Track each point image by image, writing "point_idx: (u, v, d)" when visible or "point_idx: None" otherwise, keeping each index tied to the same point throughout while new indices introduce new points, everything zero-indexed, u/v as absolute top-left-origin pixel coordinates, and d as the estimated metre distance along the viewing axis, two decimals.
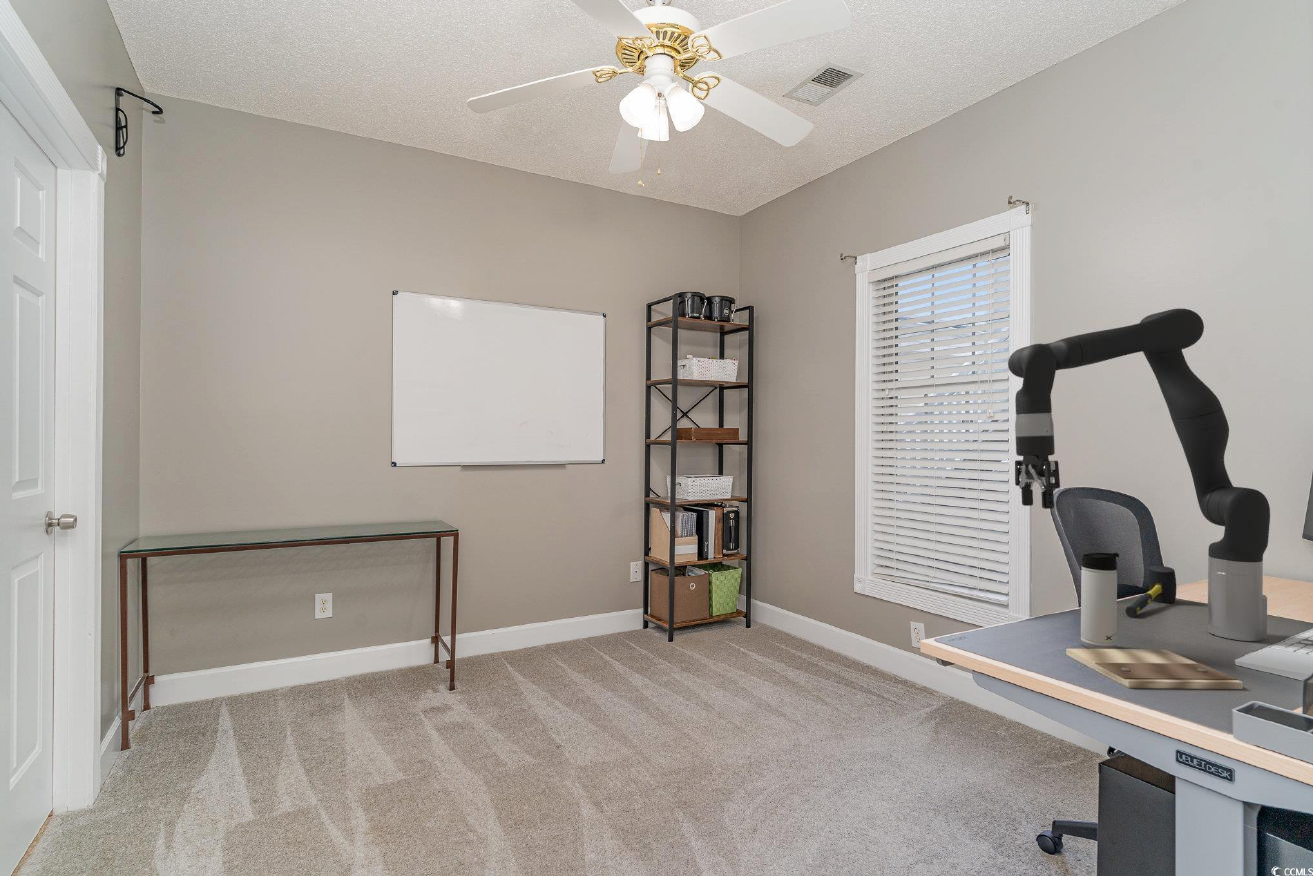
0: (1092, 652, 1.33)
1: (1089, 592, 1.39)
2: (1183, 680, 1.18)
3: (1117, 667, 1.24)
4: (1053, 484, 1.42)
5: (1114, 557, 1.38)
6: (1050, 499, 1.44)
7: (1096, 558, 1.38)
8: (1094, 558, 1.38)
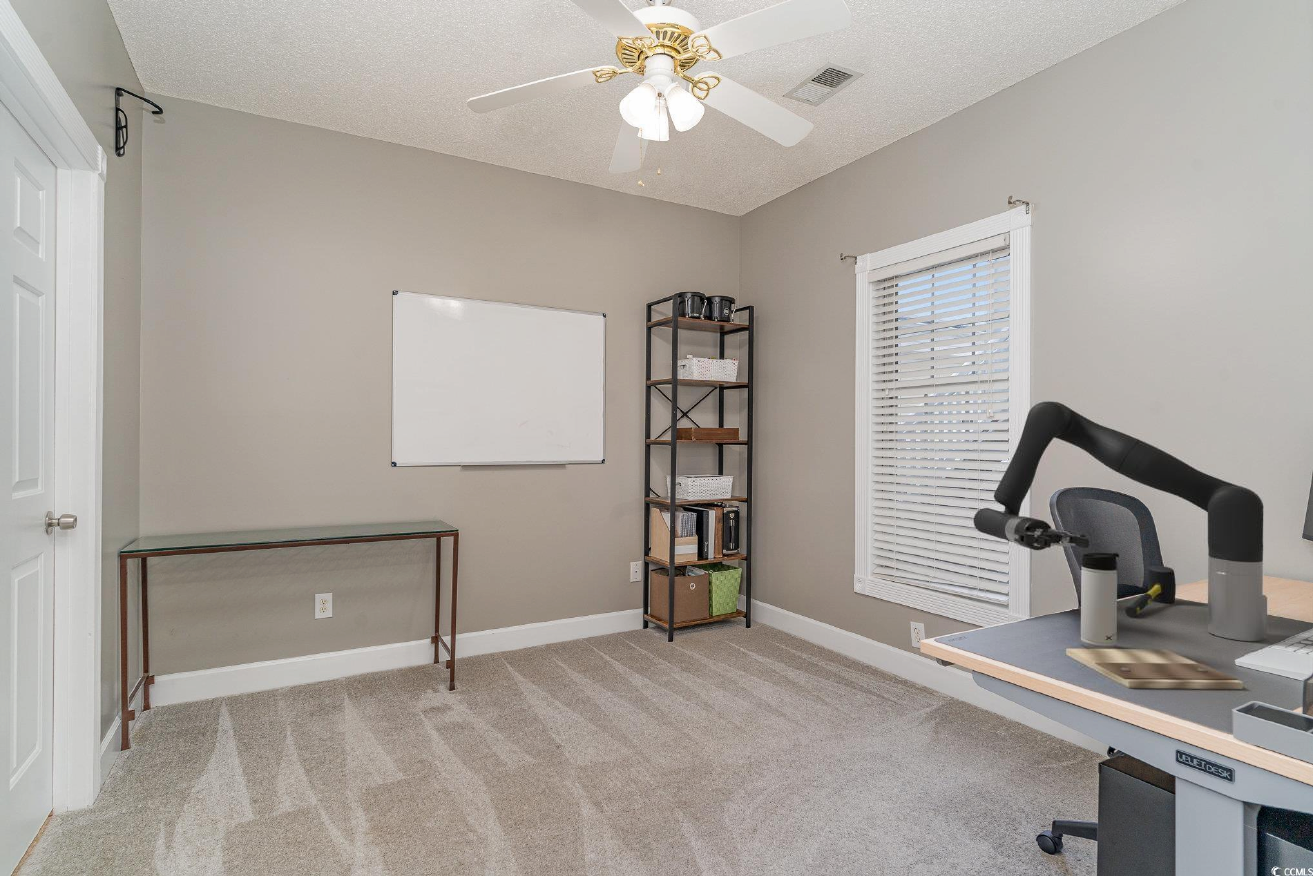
0: (1092, 652, 1.33)
1: (1089, 592, 1.39)
2: (1183, 680, 1.18)
3: (1117, 667, 1.24)
4: (1024, 539, 1.57)
5: (1114, 557, 1.38)
6: (1039, 541, 1.53)
7: (1096, 558, 1.38)
8: (1094, 558, 1.38)
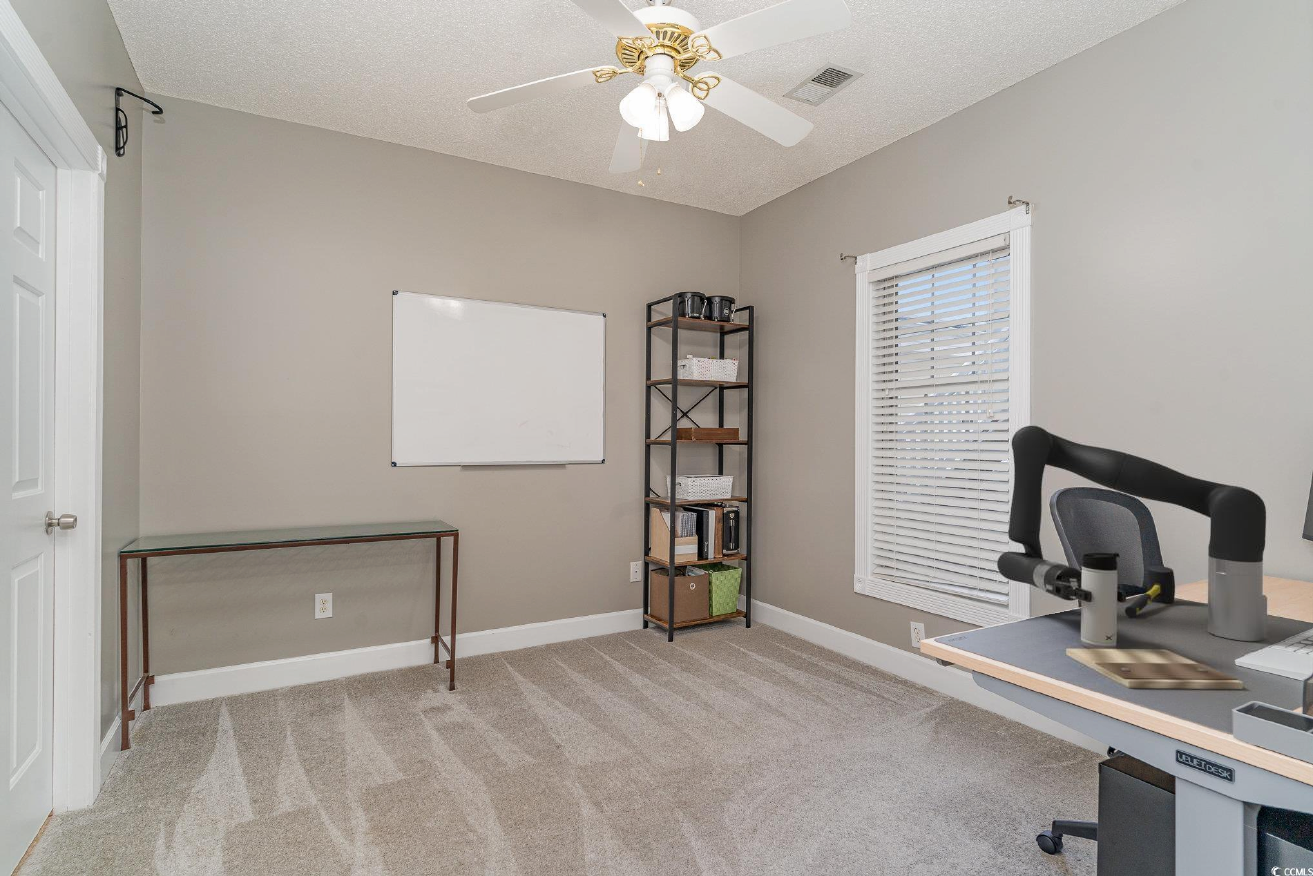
0: (1092, 652, 1.33)
1: None
2: (1183, 680, 1.18)
3: (1117, 667, 1.24)
4: (1061, 591, 1.43)
5: (1114, 557, 1.38)
6: (1078, 594, 1.40)
7: (1096, 558, 1.38)
8: (1094, 558, 1.38)
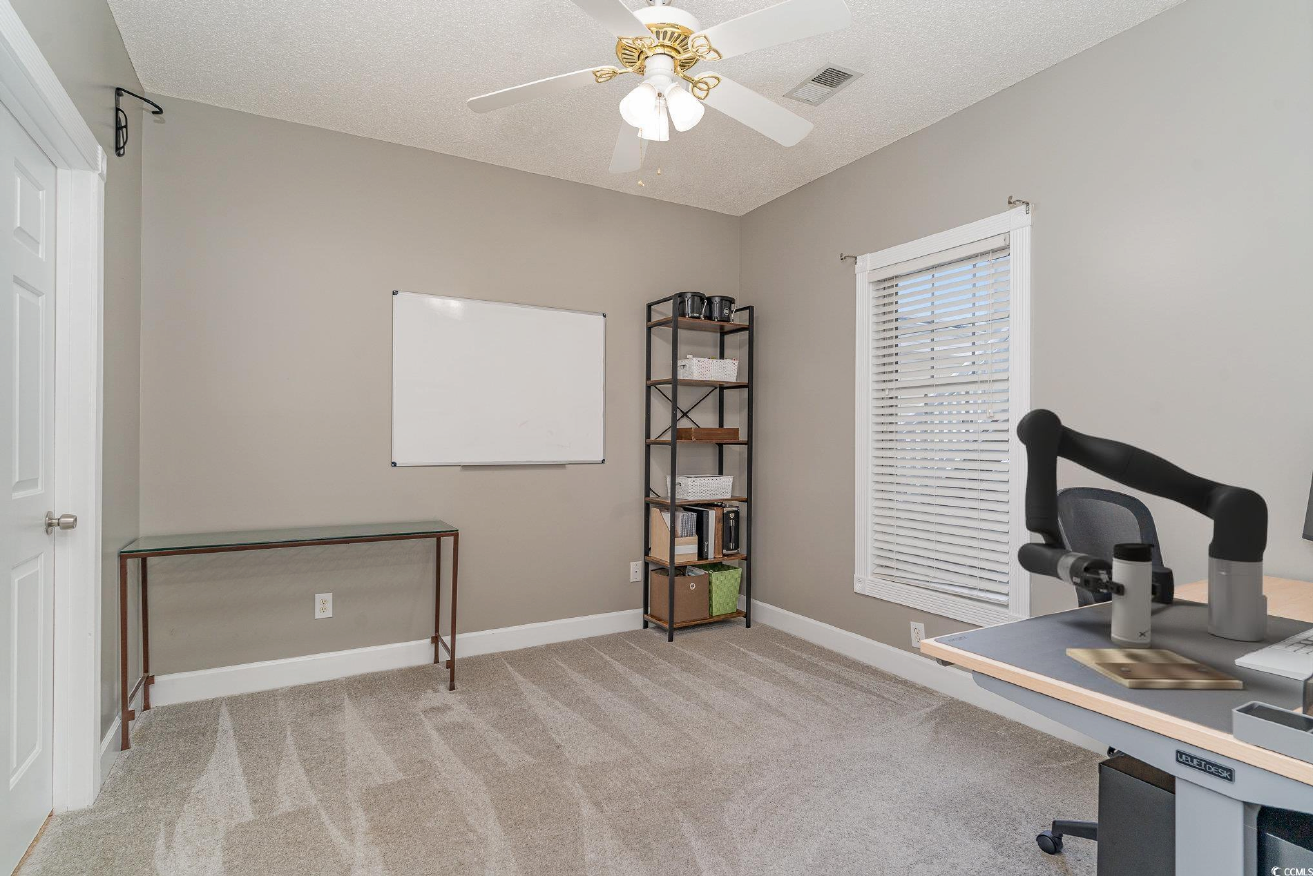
0: (1092, 652, 1.33)
1: None
2: (1183, 680, 1.18)
3: (1117, 667, 1.24)
4: (1090, 584, 1.34)
5: (1149, 547, 1.28)
6: (1110, 587, 1.30)
7: (1130, 549, 1.28)
8: (1127, 549, 1.29)
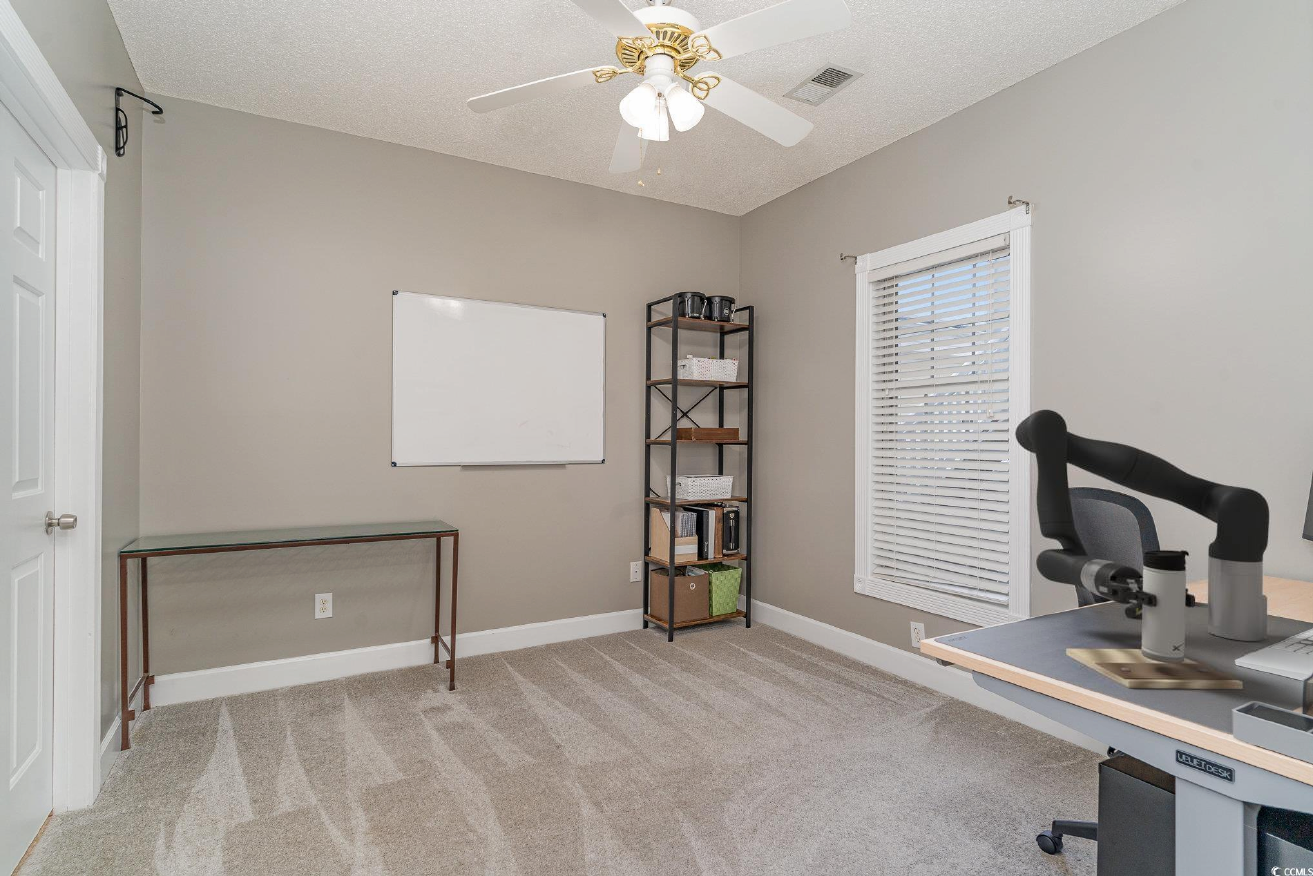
0: (1092, 652, 1.33)
1: None
2: (1183, 680, 1.18)
3: (1117, 667, 1.24)
4: (1119, 594, 1.26)
5: (1183, 555, 1.20)
6: (1141, 598, 1.22)
7: (1162, 557, 1.20)
8: (1160, 557, 1.20)
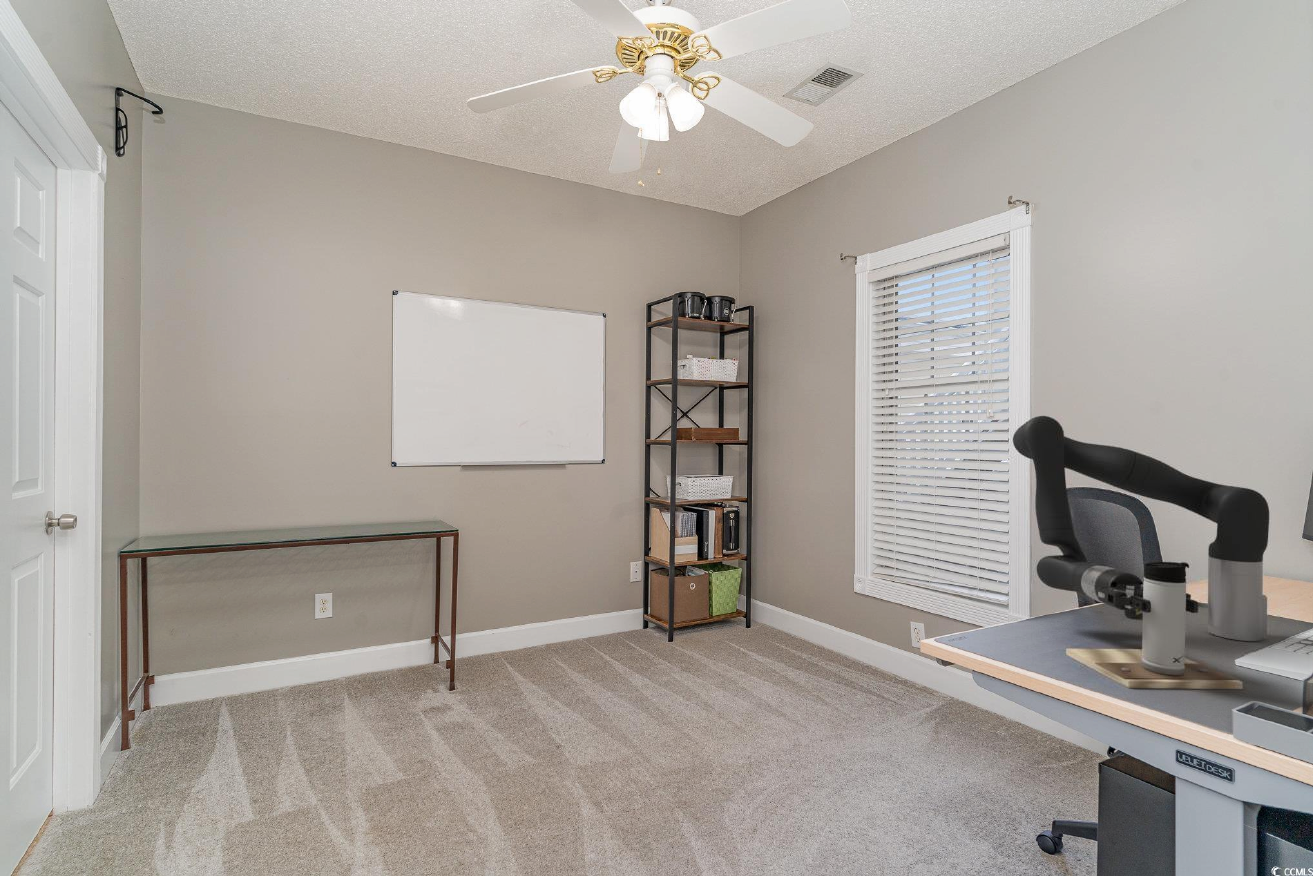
0: (1092, 652, 1.33)
1: (1154, 608, 1.21)
2: (1183, 680, 1.18)
3: (1117, 667, 1.24)
4: (1113, 600, 1.26)
5: (1183, 567, 1.20)
6: (1135, 603, 1.23)
7: (1162, 568, 1.20)
8: (1160, 568, 1.20)
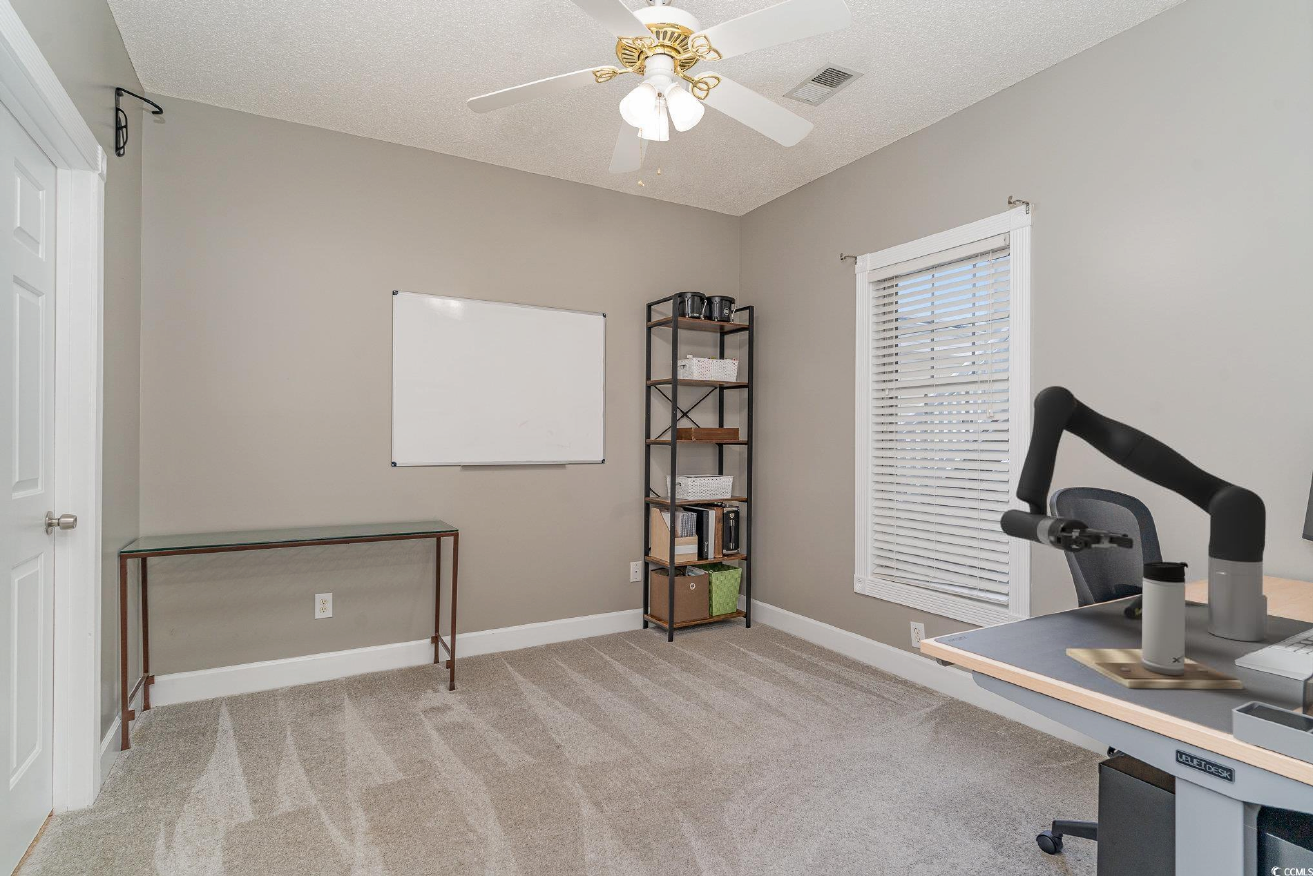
0: (1092, 652, 1.33)
1: (1153, 607, 1.21)
2: (1183, 680, 1.18)
3: (1117, 667, 1.24)
4: (1061, 541, 1.44)
5: (1182, 567, 1.20)
6: (1079, 542, 1.41)
7: (1162, 568, 1.20)
8: (1159, 568, 1.21)
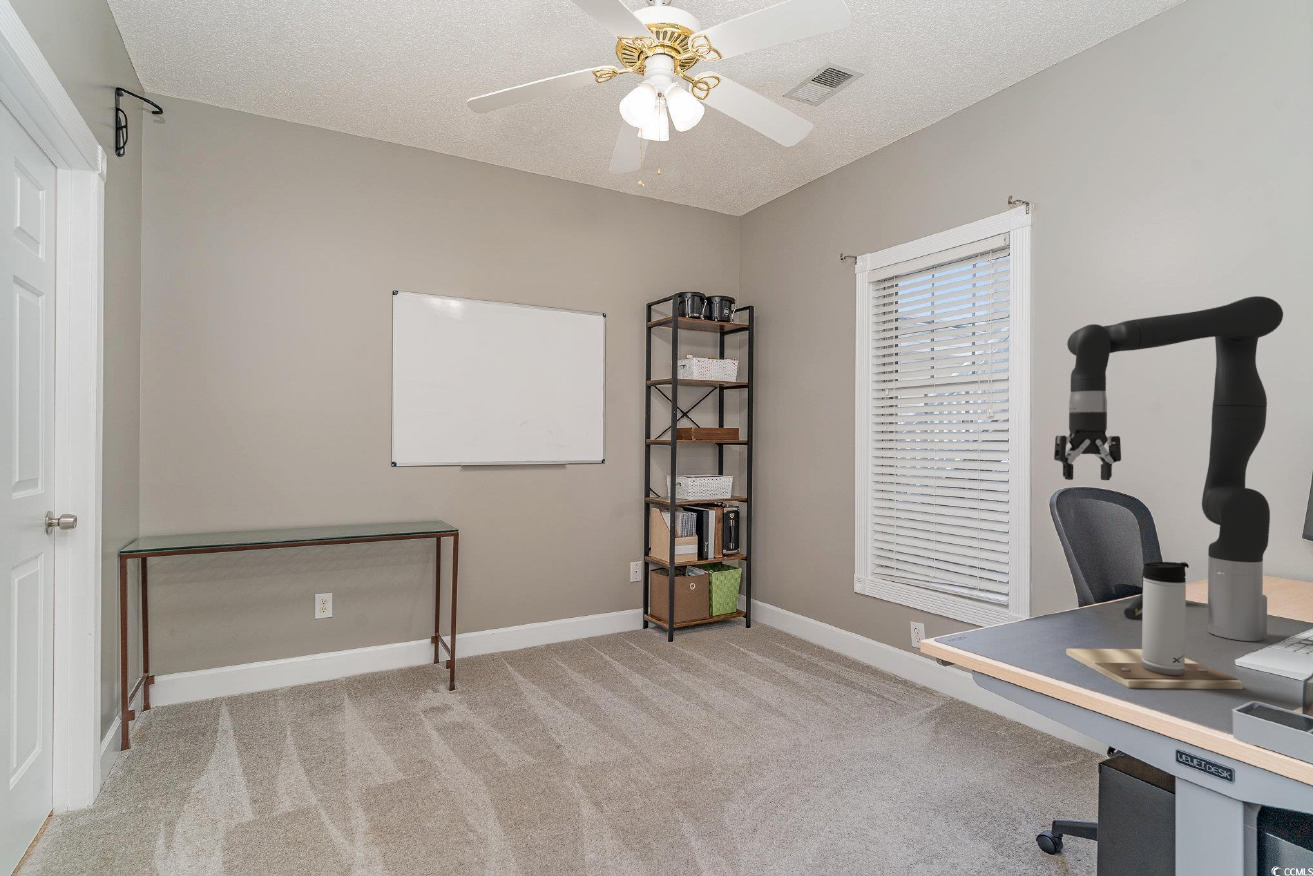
0: (1092, 652, 1.33)
1: (1154, 607, 1.21)
2: (1183, 680, 1.18)
3: (1117, 667, 1.24)
4: (1057, 456, 1.57)
5: (1183, 567, 1.20)
6: (1064, 471, 1.57)
7: (1162, 568, 1.20)
8: (1160, 568, 1.21)
